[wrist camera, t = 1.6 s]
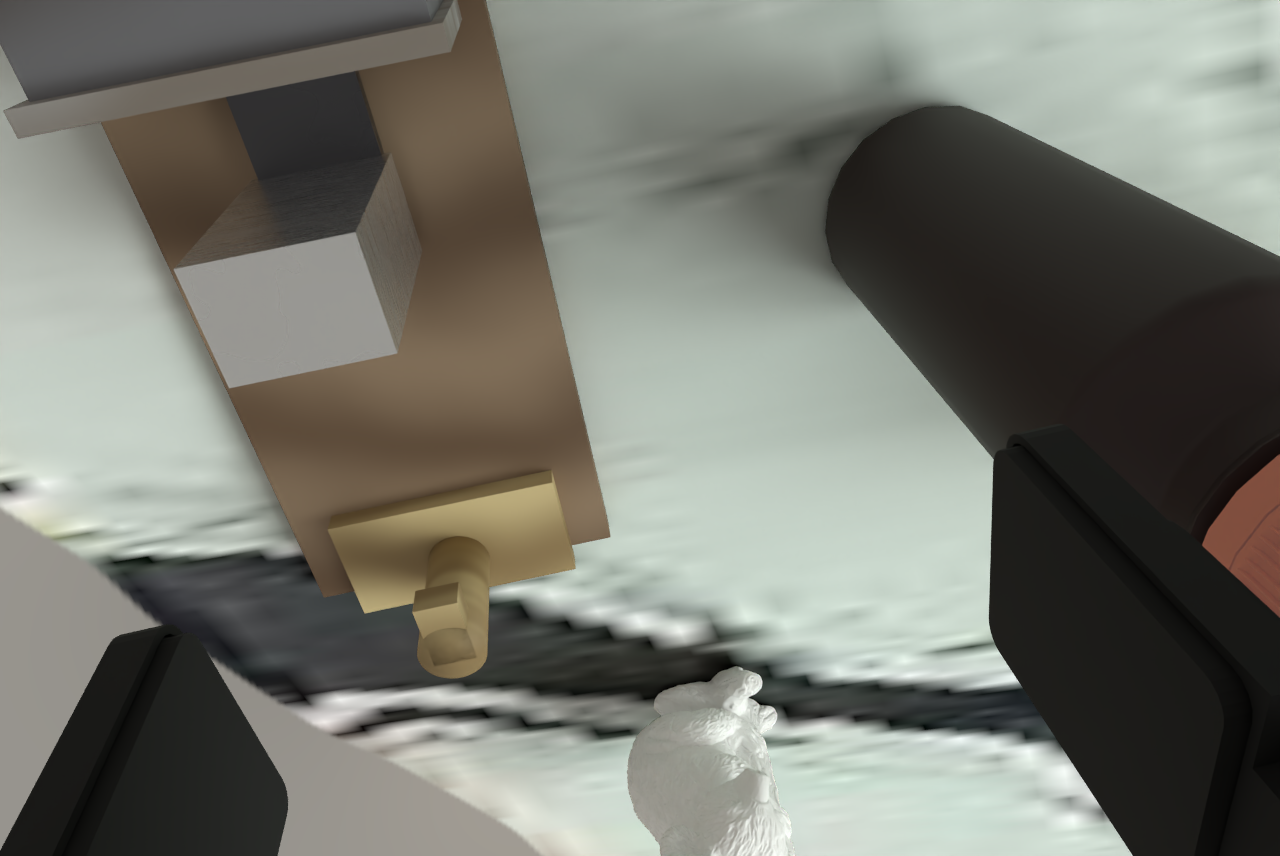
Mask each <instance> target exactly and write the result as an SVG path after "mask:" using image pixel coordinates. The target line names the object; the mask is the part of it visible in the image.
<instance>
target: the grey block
mask: <svg viewBox="0 0 1280 856" xmlns="http://www.w3.org/2000/svg"><path fill="white" fill-rule="evenodd" d="M226 99H227V102H228V104H229V107H230V109H231V112H232V115H233V117H234V120H235V122H236V125H237V127H238V130H239V132H240V135H241V137H242V140H243V142H244V145H245V148H246V150H247V153H248V155H249V158H250V160H251V163H252V165H253V168H254V170H255V173H256V176H257V178H258V179H254V180H251V181H250V183H249V184H248V185H247V186H246V187H245V188H244V189H243V191H242V192H241V193H240V194H239V195H238V196H237V197H236V199H235V200H234V201H233V202H232V203H231V204H230V205H229V206H228V208H227V209H226V210H225V211H224V212H223V213H222V214H221V216H220V217H219V218H218V219H217V220H216V221H215V222H214V224H213V225H212V226H211V227H210V228H209V229H208V230H207V232H206V233H205V234H204V235H203V236H202V237H201V238H200V240H199V241H198V242H197V243H196V244H195V245H194V246H193V248H192V249H191V250H190V251H189V252H188V253H187V254H186V256H185V257H184V258H183V259H182V260H181V261H180V262H179V264H178V265H177V266H176V267H175V268H174V272H175V274H176V276H177V278H178V280H179V282H180V284H181V287H182V289H183V291H184V293H185V295H186V297H187V299H188V302H189V304H190V306H191V308H192V310H193V312H194V314H195V316H196V319H197V321H198V323H199V325H200V327H201V329H202V331H203V334H204V336H205V338H206V340H207V342H208V344H209V346H210V349H211V351H212V353H213V355H214V357H215V359H216V361H217V364H218V366H219V368H220V370H221V372H222V374H223V376H224V379H225V381H226V383H227V385H228V387H229V388H233V387H238V386H243V385H248V384H253V383H257V382H262V381H267V380H272V379H277V378H282V377H287V376H291V375H296V374H301V373H306V372H311V371H316V370H320V369H325V368H330V367H335V366H340V365H345V364H350V363H354V362H359V361H364V360H369V359H374V358H379V357H383V356H388V355H393V354H397V353H398V349H399V345H400V341H401V337H402V332H403V328H404V324H405V320H406V316H407V312H408V308H409V303H410V299H411V295H412V291H413V287H414V283H415V279H416V274H417V270H418V266H419V262H420V258H421V254H422V249H421V246H420V243H419V239H418V236H417V233H416V230H415V227H414V223H413V220H412V217H411V214H410V210H409V207H408V204H407V201H406V197H405V194H404V191H403V188H402V185H401V181H400V178H399V175H398V172H397V168H396V165H395V162H394V159H393V156H392V152H387V153H384V151H383V148H382V144H381V141H380V138H379V135H378V132H377V128H376V125H375V122H374V119H373V116H372V113H371V109H370V106H369V103H368V100H367V97H366V93H365V90H364V87H363V84H362V81H361V77H360V74H359V71H353V72H348V73H343V74H338V75H333V76H328V77H323V78H318V79H313V80H308V81H303V82H298V83H293V84H288V85H283V86H278V87H273V88H268V89H263V90H258V91H253V92H248V93H243V94H238V95H233V96H228V97H226Z"/></svg>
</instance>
